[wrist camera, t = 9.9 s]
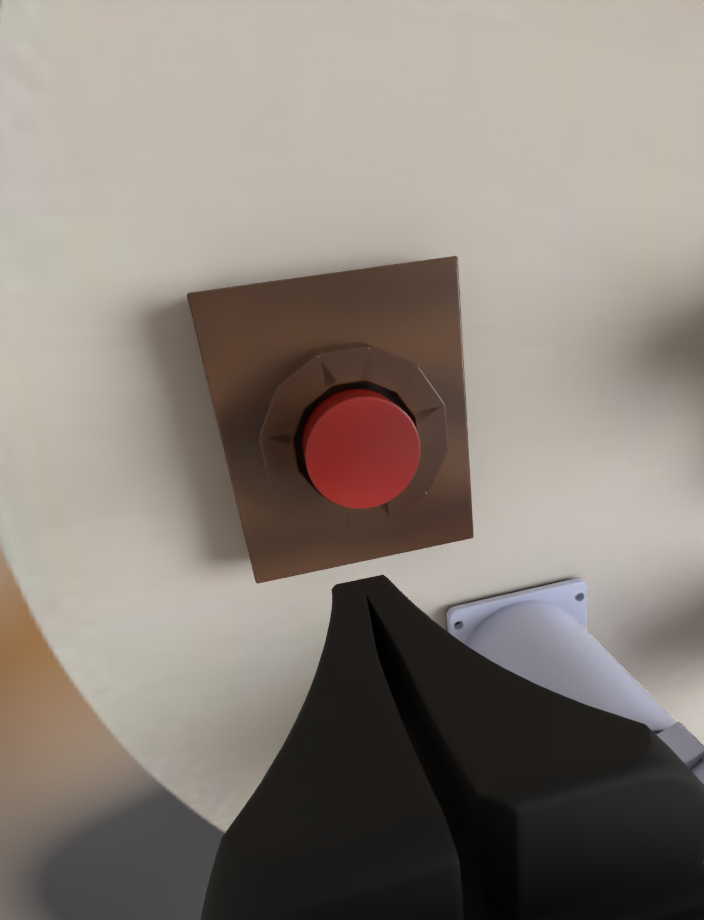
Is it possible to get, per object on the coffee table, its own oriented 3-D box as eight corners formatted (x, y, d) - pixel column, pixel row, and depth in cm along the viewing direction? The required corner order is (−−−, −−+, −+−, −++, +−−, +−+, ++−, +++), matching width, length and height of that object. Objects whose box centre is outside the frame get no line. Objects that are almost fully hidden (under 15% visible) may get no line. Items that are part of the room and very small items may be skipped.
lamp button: (411, 480, 18) (425, 497, 16) (311, 500, 18) (315, 519, 16) (401, 380, 17) (415, 387, 15) (293, 398, 16) (295, 407, 15)
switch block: (456, 518, 23) (491, 558, 19) (257, 559, 22) (254, 609, 18) (438, 261, 19) (478, 249, 15) (195, 295, 18) (175, 290, 14)
